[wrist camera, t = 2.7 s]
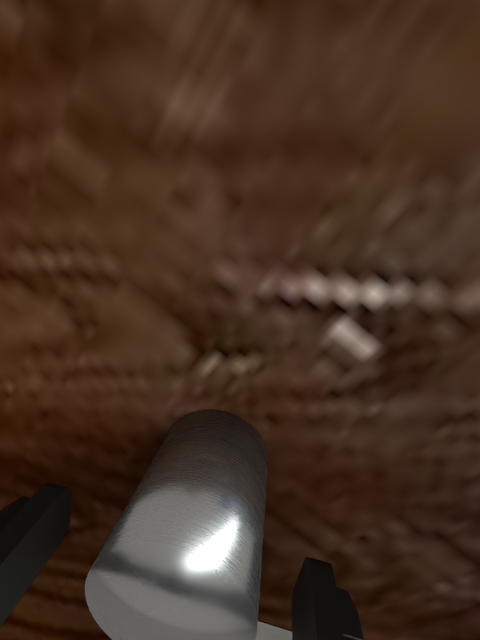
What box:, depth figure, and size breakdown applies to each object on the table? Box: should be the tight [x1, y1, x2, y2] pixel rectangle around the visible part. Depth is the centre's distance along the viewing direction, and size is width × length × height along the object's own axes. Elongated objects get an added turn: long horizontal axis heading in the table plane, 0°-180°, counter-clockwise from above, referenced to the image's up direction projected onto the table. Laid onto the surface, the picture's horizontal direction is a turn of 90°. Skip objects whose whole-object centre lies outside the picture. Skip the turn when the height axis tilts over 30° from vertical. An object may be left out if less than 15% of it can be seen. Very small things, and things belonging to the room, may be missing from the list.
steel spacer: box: [85, 409, 268, 640], centre depth 11 cm, size 5×5×6 cm
